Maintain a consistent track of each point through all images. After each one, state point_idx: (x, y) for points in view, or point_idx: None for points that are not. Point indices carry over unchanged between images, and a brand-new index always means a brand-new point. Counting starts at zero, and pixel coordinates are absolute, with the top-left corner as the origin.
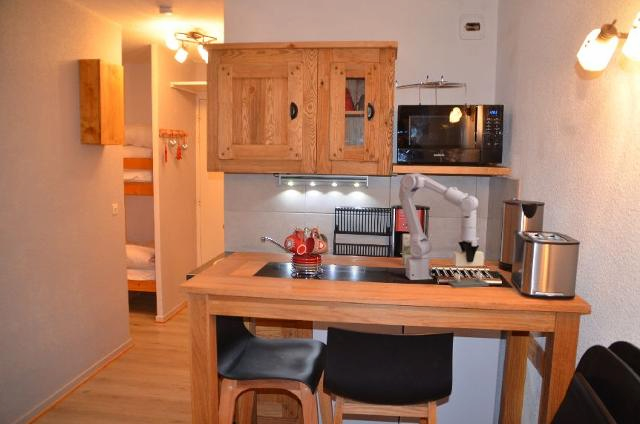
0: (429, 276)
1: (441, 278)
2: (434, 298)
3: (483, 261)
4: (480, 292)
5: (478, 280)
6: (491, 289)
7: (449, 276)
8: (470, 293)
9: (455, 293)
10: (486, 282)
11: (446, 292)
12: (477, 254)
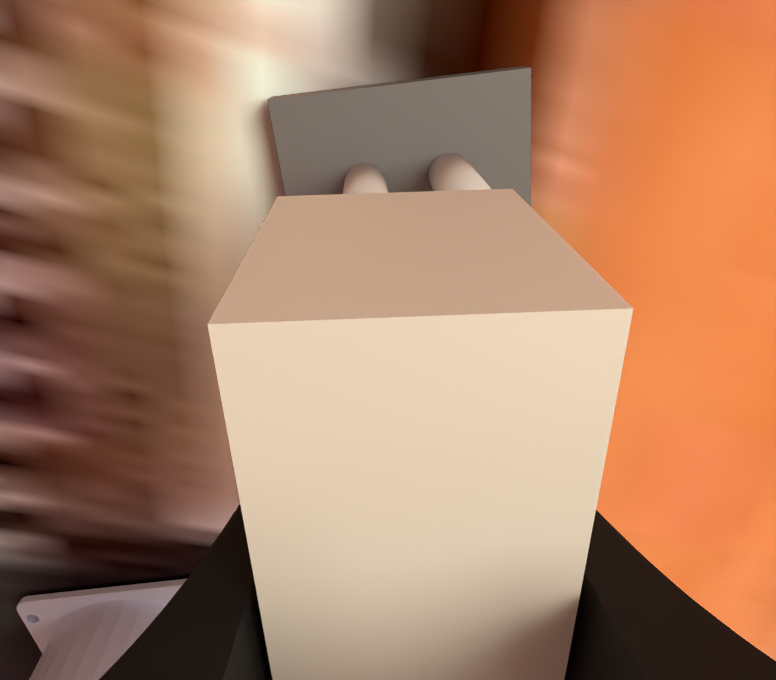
0: (142, 599)
1: (154, 501)
2: (769, 633)
3: (538, 218)
4: (752, 265)
5: (387, 182)
6: (680, 88)
7: (49, 415)
8: (747, 371)
9: (700, 489)
10: (468, 84)
11: (648, 543)
12: (581, 480)
